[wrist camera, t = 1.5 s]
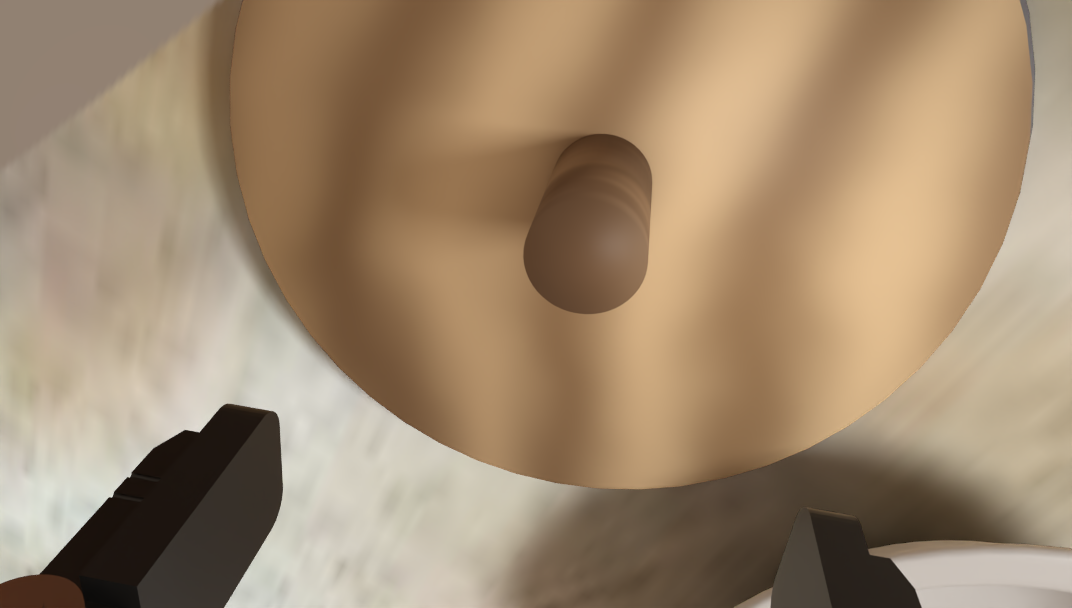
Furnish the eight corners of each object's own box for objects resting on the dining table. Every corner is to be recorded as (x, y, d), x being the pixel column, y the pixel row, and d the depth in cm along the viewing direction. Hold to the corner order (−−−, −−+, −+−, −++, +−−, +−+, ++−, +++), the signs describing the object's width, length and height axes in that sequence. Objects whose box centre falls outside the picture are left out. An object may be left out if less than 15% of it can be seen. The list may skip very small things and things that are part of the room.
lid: (1175, -235, 20) (1409, -289, 14) (872, 519, 32) (922, 676, 26) (217, -333, 22) (36, -421, 16) (266, 411, 34) (173, 532, 27)
